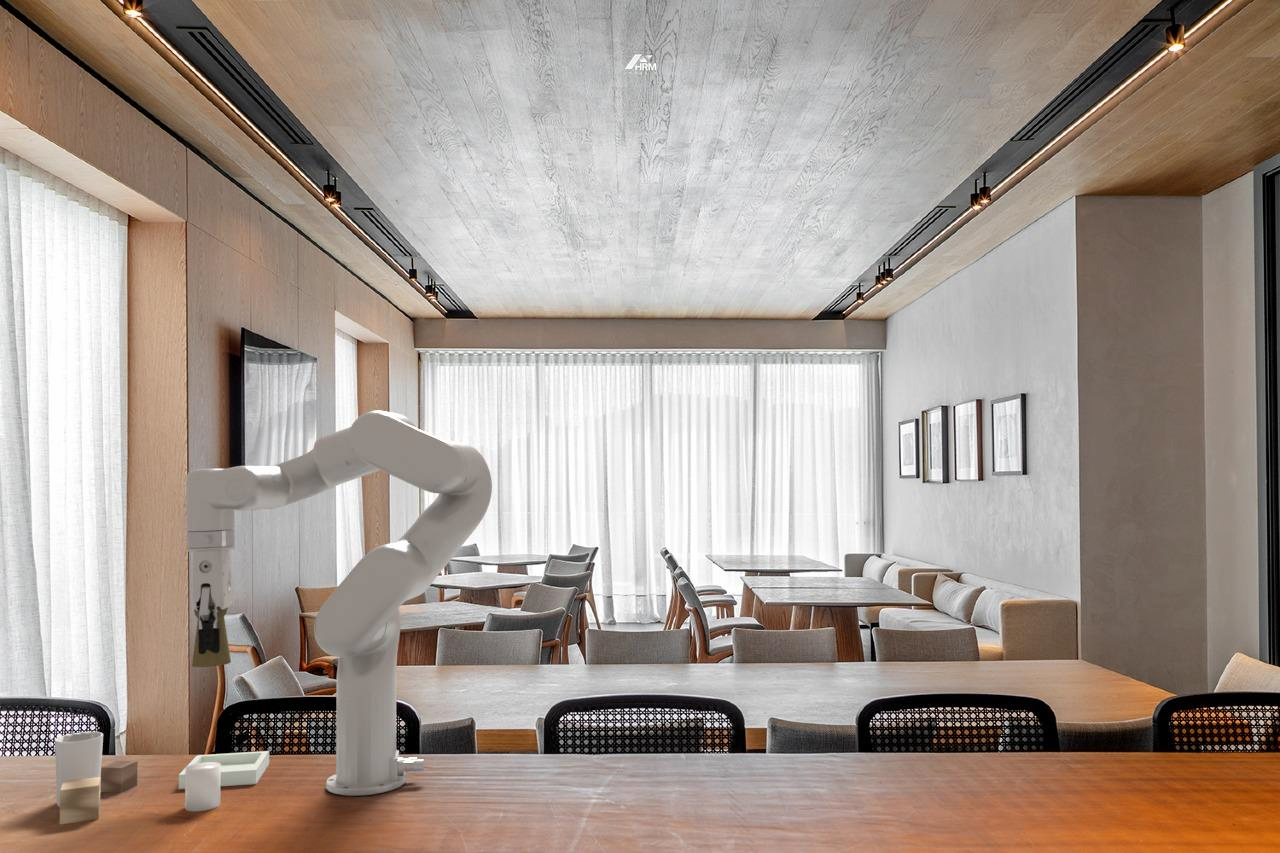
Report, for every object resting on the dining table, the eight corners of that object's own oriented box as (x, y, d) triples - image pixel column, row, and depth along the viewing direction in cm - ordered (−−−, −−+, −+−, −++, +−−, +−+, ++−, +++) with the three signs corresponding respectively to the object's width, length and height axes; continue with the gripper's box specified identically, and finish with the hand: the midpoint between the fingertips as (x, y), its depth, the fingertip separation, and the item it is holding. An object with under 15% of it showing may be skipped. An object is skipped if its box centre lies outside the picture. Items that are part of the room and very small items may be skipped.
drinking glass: (112, 797, 158) (113, 733, 159) (75, 810, 152) (77, 743, 152) (80, 793, 160) (81, 730, 161) (43, 806, 154) (44, 740, 154)
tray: (269, 764, 176) (269, 750, 176) (256, 783, 164) (256, 769, 164) (196, 768, 173) (197, 755, 173) (178, 789, 162) (178, 774, 162)
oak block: (100, 809, 152) (100, 776, 152) (98, 819, 148) (99, 785, 148) (62, 815, 150) (63, 781, 150) (59, 825, 145) (60, 790, 146)
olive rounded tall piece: (217, 666, 163) (217, 599, 164) (184, 667, 164) (183, 600, 165) (238, 660, 169) (237, 595, 170) (205, 660, 170) (204, 596, 171)
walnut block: (137, 785, 164) (137, 761, 164) (120, 793, 160) (121, 768, 161) (115, 784, 165) (115, 760, 165) (98, 792, 161) (99, 767, 161)
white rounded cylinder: (223, 799, 156) (223, 761, 156) (216, 810, 151) (216, 769, 151) (189, 802, 155) (190, 763, 155) (181, 812, 150) (181, 772, 150)
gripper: (226, 542, 161) (227, 657, 160) (242, 538, 177) (243, 642, 176) (175, 545, 159) (177, 660, 158) (196, 540, 175) (198, 645, 174)
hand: (212, 649), depth 167 cm, fingers closed on olive rounded tall piece, 4 cm apart
